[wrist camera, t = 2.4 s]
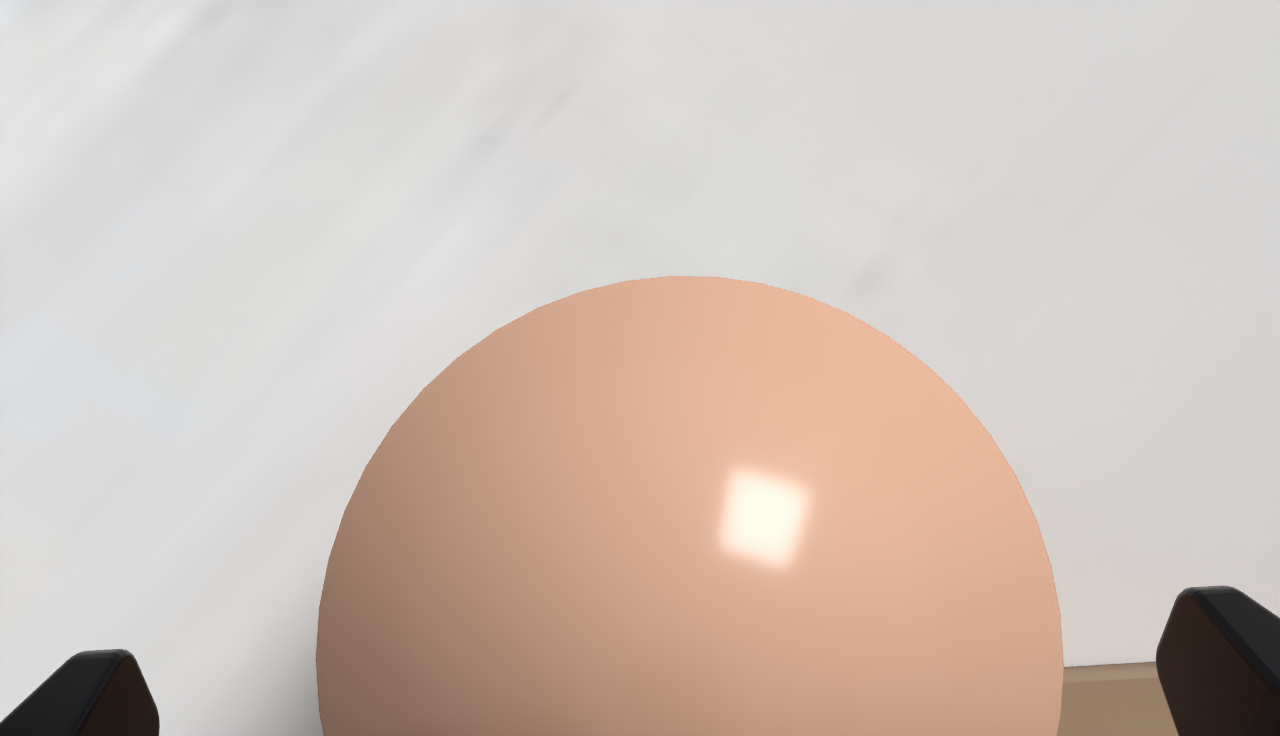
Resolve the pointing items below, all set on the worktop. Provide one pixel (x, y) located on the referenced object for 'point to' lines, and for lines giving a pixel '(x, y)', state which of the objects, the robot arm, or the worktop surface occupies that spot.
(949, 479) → the peach chess pawn
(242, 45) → the worktop surface
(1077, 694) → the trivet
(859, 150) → the worktop surface
